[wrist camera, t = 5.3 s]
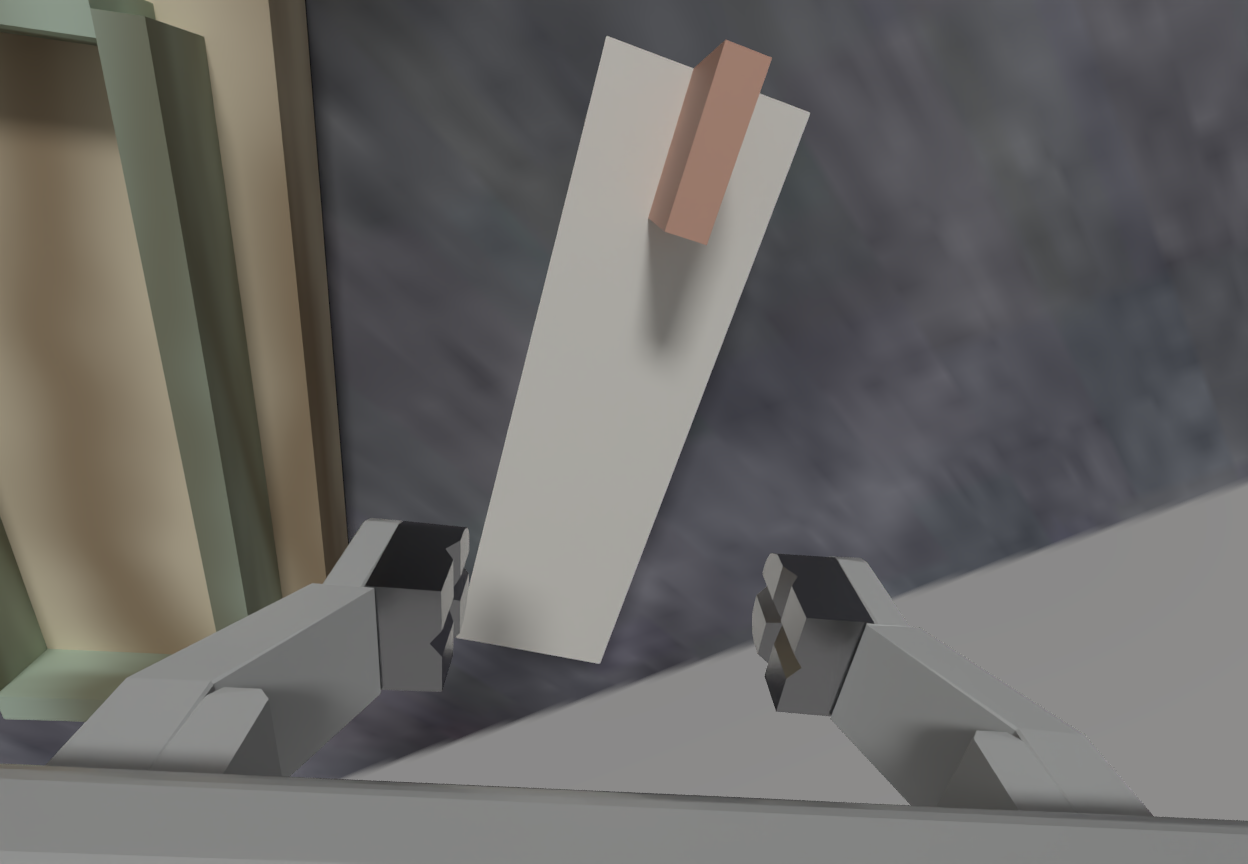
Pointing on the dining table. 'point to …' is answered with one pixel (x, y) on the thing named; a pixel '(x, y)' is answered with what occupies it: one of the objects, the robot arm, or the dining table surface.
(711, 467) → the dining table surface
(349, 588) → the robot arm
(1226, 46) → the dining table surface
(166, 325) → the tray
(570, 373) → the white bar with tab
